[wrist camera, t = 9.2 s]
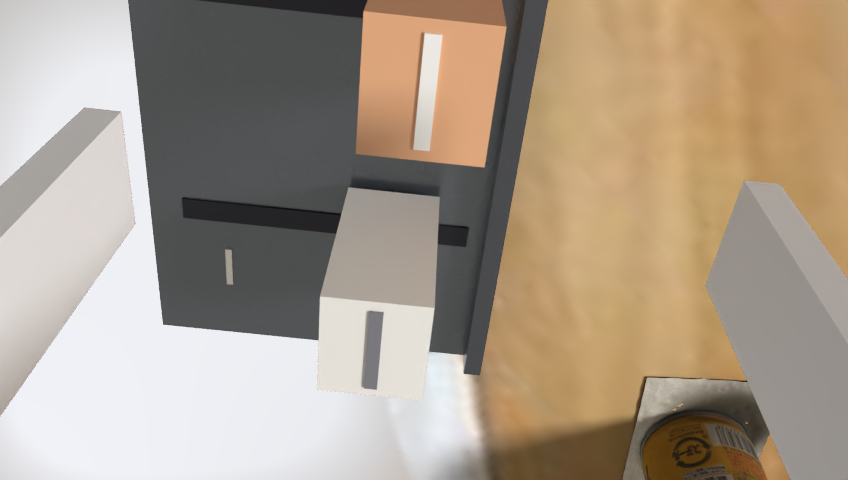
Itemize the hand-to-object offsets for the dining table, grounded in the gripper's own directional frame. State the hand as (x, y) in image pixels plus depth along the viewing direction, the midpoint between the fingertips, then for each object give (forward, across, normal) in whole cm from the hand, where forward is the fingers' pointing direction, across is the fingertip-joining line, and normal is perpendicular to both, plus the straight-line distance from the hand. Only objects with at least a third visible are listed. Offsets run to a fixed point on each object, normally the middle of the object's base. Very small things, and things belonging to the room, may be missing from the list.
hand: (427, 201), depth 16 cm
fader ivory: (+15, -1, -10) cm, 18 cm away
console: (+16, -4, -6) cm, 18 cm away
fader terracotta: (+15, 0, 0) cm, 15 cm away
